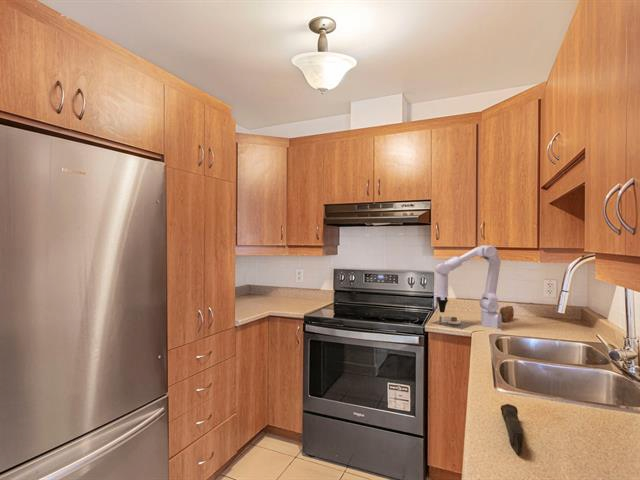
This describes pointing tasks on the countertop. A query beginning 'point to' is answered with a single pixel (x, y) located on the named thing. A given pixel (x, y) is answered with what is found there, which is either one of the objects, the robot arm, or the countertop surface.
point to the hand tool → (513, 427)
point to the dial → (449, 320)
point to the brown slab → (507, 313)
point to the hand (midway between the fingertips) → (441, 311)
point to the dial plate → (459, 326)
